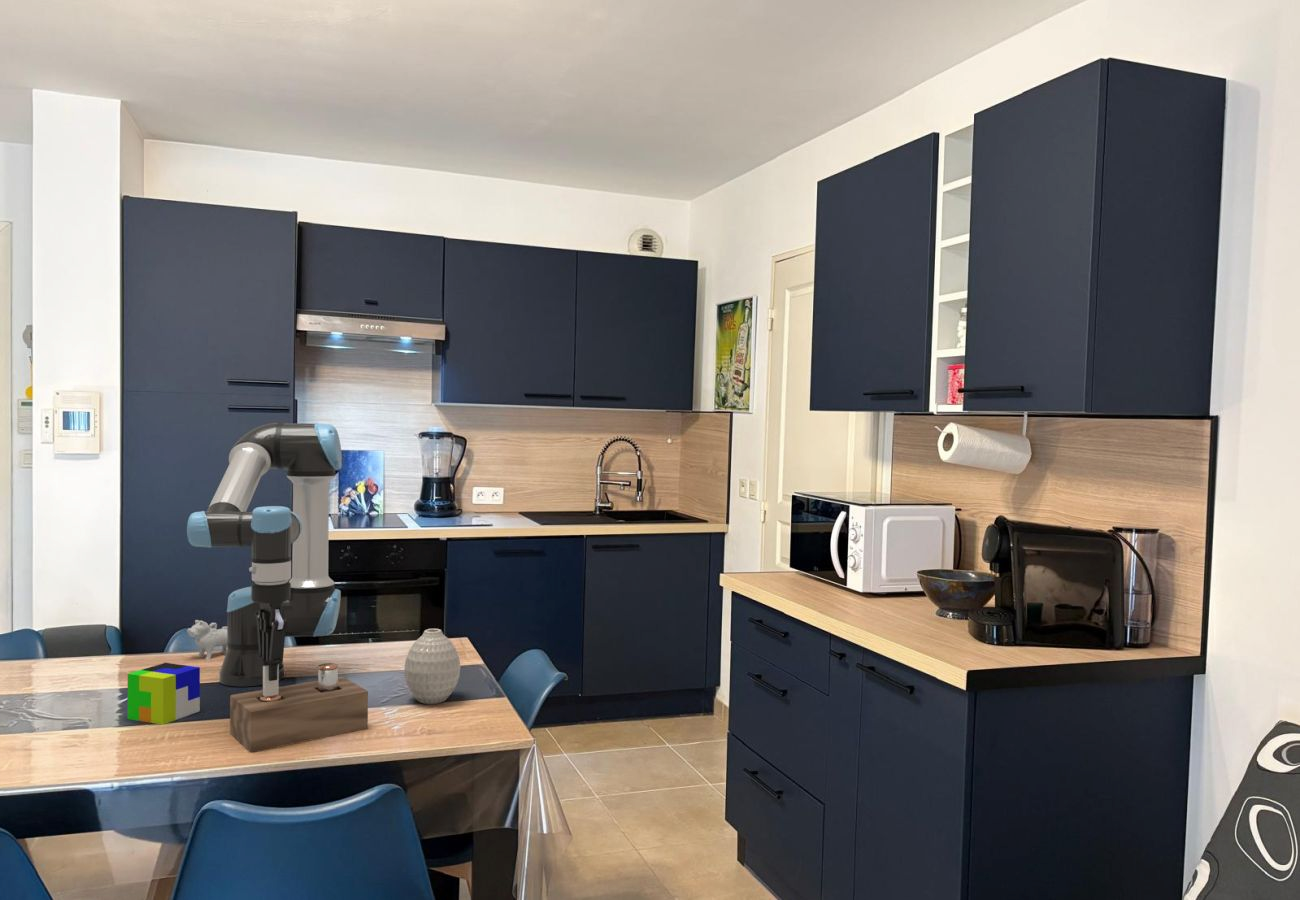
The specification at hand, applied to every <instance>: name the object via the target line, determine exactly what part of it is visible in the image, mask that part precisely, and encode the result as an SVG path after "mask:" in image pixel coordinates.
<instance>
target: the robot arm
mask: <svg viewBox="0 0 1300 900" xmlns="http://www.w3.org/2000/svg"><path fill="white" fill-rule="evenodd" d="M342 456H343V455H342V446H341V441H340V436H339V432H338V430H337V429H336V427H335V426H334V425H332V424H326V423H318V422H314V423H297V422H296V423H295V422H294V423H293V422H292V423H291V422H289V423H287V422H284V423H283V422H282V423H280V422H272V423H266V424H262V425H261V426H258V427H255V428H253V429H252V430H249V431H248V432H247V433H245V434H244V435H243V436H241V437H240V438H239V439H238V440H237V442H235V443H234V445H233V446H232V447H231V449H230V452H229V455H228V463H229V464H228V467H227V469H225V470H226V471H225V472H224V474H223V477H222V479H221V481H220V483H219V485H218V487H217V489H216V490H215V494H214V495H213V498H212V499H211V502H210V504H209V506H208V508H207V509H206V511H204V510H201V511H195V512H192V513H191V514H190V515H189V517H188V520H187V525H186V534H187V535H186V536H187V541H188V543H189V544H190V545H191V546H193V547H198V548H199V547H201V548H208V549H210V548H229V547H230V548H233V547H234V548H235V547H236V548H238V547H240V548H241V547H243V548H246V547H247V548H249V547H251V567H249V568H248V570H249V573H251V580H252V582H253V583H252V584H251V585H250V586H247V587H243V588H239V589H236V590H234V591H232V592H231V593H230V594H229V595H228V598H227V609H226V612H227V613H226V615H227V617H226V618H227V619H226V620H227V621H226V622H227V623H226V624H227V625H226V627H227V648H226V653H225V656H224V659H223V662H222V665H221V668H220V671H219V683H220V684H222V685H224V686H228V687H255V686H262V690H263V696H265V697H267V696H272V695H278V694H279V687H280V686H279V681H280V680H282V679H284V677H285V673H286V672H285V669H286V668H285V664H284V650H285V641H286V638H289V637H291V638H292V637H313V638H316V637H323V636H328V635H329V636H330V635H331V634H333V632H334V631H335V629H336V626H337V622H338V620H339V619H338V618H339V614H340V606H341V601H342V600H341V595H342V594H341V593H342V592H341V590H340V589H338V588H335V581H334V580H333V579H332V578H330V576H329V530H330V529H329V523H330V522H329V521H330V520H329V516H330V515H329V511H330V509H329V506H330V504H329V503H330V501H329V500H330V483H331V482H332V481H333V479H334V478H336V471H339V470H341V469H342V466H343V460H342V459H343V457H342ZM269 470H286V477H287V479H288V480H290V481H291V483H292V511H291V509H290V508H289V507H287V506H284V505H282V506H280V505H270V506H269V505H267V506H258V507H255V508H254V509H253V510H252V511H247V510H248V508H249V506H250V503H251V501H252V498H253V496H254V493H255V491H256V489H257V487H258V485H259V482H260V479H261V478H262V476H264V475H265V474H266V473H267V472H268V471H269ZM291 544H292V545H291ZM291 546H292V547H291ZM291 548H292V549H291ZM291 551H292V555H291ZM291 556H292V557H291ZM291 558H292V559H291Z"/></svg>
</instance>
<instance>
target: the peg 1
mask: <svg viewBox="0 0 1300 900" xmlns="http://www.w3.org/2000/svg"><path fill="white" fill-rule="evenodd" d="M277 700H281V695H279V694H278V695H272V696H267V697H265V696H261V697H260V701H261V702H262V703H265V702H271V701H277Z"/></svg>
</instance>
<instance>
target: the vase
mask: <svg viewBox="0 0 1300 900" xmlns="http://www.w3.org/2000/svg"><path fill="white" fill-rule="evenodd" d="M403 669H404V674H403V675H404V680H405V683H406V686H407V688H408V691H409V692H410V693H411V695H412V696H413V698H414V699H415V700H416V701H417V702H419V703H421V704H424V705H435V704H441V703H443V702H445V701H446V700H447V699H448V698H449V697H450V696H451V694H452V693H453V692H454V690H455V688H456V687H457V684H458V681H459V680H460V674H461V661H460V656H459V653H458V651H457V648H456V646H455V645H454V643H453V642H451V640H450V639H449V637H448V636H446V635H444V633H443V631H442V629H439V628H428V629H425V630H424V631H423V633H422V635H421V636H419V638H417V639H416V640H415V642H414V643H413V644H412V645H411V647H410V649H409V650H408V652H407V654H406V658H405V661H404V668H403Z"/></svg>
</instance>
